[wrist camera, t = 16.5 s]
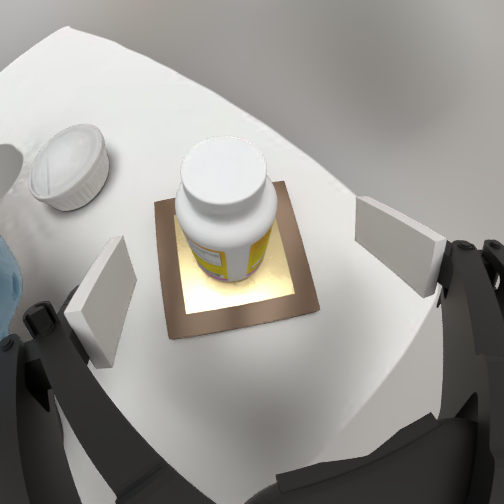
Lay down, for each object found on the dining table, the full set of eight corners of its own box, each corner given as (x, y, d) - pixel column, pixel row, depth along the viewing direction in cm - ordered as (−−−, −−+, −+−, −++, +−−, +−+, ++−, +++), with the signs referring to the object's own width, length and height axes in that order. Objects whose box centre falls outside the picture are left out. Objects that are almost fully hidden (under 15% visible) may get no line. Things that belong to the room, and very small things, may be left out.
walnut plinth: (172, 339, 25) (168, 338, 23) (157, 208, 29) (154, 201, 28) (315, 311, 26) (320, 309, 25) (282, 188, 31) (284, 180, 29)
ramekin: (35, 198, 29) (15, 178, 24) (84, 139, 32) (71, 115, 27) (76, 234, 28) (53, 215, 23) (132, 163, 31) (120, 136, 26)
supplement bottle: (257, 213, 28) (272, 119, 16) (271, 277, 26) (301, 212, 13) (190, 223, 27) (162, 132, 15) (198, 288, 25) (164, 232, 13)
